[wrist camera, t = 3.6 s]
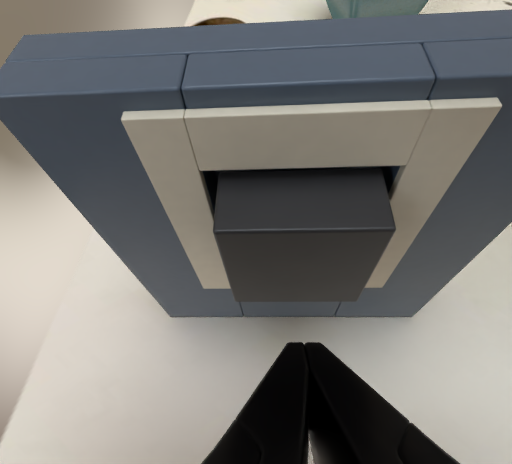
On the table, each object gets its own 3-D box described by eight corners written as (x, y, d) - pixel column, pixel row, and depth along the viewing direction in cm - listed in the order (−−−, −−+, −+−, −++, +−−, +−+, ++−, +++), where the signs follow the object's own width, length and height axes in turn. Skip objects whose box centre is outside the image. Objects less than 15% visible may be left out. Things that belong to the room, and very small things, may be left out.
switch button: (357, 302, 12) (398, 229, 8) (234, 302, 12) (211, 232, 8) (350, 252, 13) (382, 166, 9) (237, 254, 13) (218, 170, 9)
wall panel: (413, 322, 19) (687, 77, 6) (169, 322, 20) (-29, 105, 7) (403, 276, 20) (606, 3, 8) (175, 278, 21) (22, 34, 9)
